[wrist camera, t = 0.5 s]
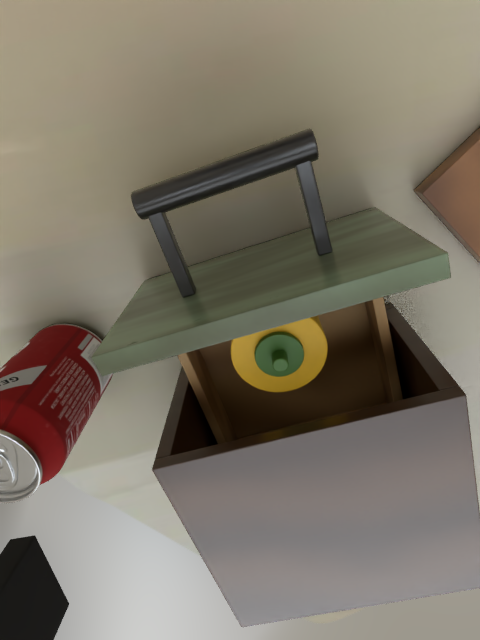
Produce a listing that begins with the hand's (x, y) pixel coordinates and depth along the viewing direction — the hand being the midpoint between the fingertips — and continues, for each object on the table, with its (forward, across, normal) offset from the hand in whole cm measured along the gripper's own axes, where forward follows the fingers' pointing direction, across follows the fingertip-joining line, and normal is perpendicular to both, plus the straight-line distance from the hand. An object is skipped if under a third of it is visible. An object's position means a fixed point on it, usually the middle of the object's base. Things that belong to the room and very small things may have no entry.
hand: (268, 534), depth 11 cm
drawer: (+20, +1, 0) cm, 20 cm away
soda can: (+21, -16, 0) cm, 26 cm away
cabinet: (+22, +2, -10) cm, 24 cm away
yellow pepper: (+19, +1, +1) cm, 19 cm away
